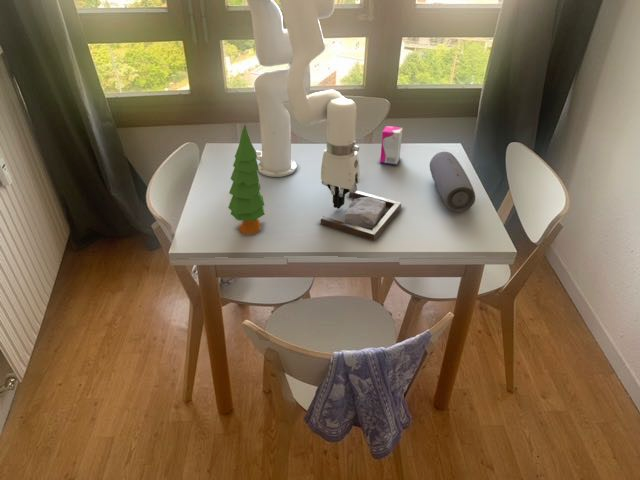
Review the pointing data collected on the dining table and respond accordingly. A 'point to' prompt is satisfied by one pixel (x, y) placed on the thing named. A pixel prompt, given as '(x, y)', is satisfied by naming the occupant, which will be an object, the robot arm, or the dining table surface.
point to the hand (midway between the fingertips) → (338, 205)
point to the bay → (361, 231)
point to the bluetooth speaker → (452, 182)
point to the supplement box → (391, 145)
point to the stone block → (365, 212)
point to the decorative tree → (246, 187)
